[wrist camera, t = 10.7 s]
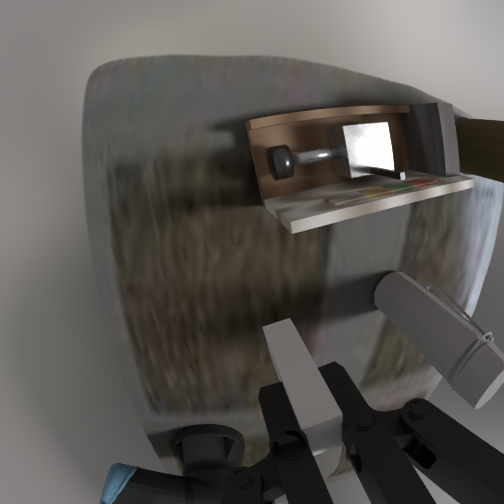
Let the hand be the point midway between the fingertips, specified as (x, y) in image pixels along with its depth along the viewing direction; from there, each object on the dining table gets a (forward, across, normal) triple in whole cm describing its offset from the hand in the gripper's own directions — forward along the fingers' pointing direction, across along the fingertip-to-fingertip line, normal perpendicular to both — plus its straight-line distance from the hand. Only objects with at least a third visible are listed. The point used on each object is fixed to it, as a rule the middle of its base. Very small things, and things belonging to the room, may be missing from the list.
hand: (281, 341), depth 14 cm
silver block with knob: (+18, +12, +7) cm, 23 cm away
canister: (+20, +43, +5) cm, 48 cm away
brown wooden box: (+20, +16, +7) cm, 27 cm away
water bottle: (+21, +22, -16) cm, 34 cm away
